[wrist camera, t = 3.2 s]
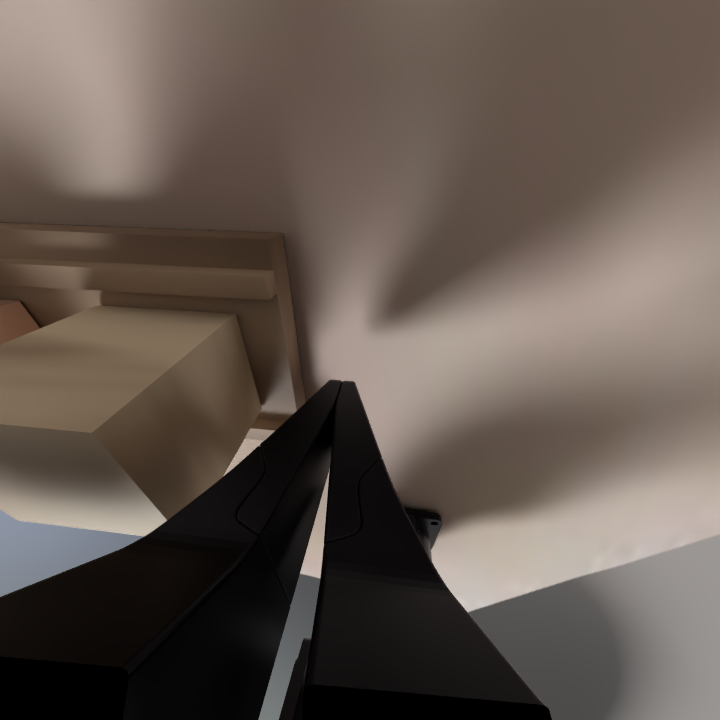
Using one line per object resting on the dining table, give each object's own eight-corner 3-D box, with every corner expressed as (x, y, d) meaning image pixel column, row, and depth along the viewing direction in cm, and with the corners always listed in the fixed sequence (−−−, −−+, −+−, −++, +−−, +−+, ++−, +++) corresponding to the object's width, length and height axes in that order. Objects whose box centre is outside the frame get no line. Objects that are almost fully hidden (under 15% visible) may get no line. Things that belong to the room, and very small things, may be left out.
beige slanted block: (261, 408, 11) (185, 541, 7) (152, 398, 11) (18, 520, 7) (235, 313, 9) (90, 433, 4) (97, 305, 9) (-158, 409, 5)
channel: (308, 424, 13) (298, 454, 12) (-65, 391, 15) (-116, 414, 13) (282, 233, 8) (258, 243, 7) (-284, 212, 10) (-404, 216, 8)
